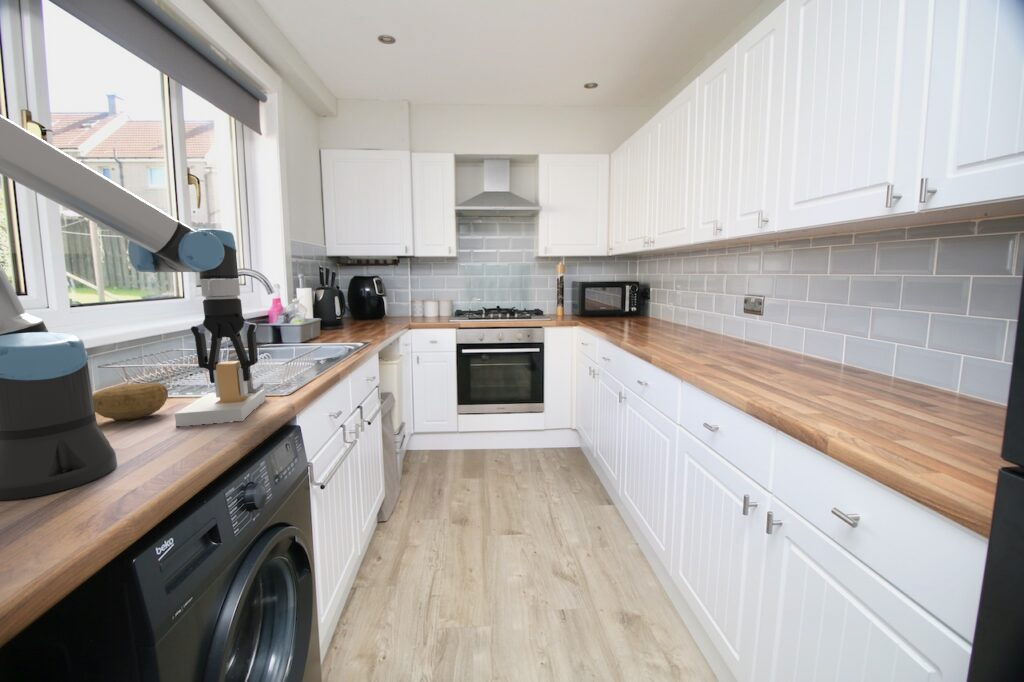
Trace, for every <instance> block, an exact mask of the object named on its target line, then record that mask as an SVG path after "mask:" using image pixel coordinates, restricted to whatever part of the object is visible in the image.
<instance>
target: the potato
mask: <svg viewBox="0 0 1024 682" xmlns="http://www.w3.org/2000/svg"><path fill="white" fill-rule="evenodd" d="M168 397H169V391H168V389H167V387H166V386H165V385H164V384H163V383H161V382H156V381H154V382H143V383H130V384H129V383H128V384H125V385H121V386H114V387H108V388H105V389H102V390H100V391H97V392H96V393H94V395H93V401H94V408H95V414H96V413H97V414H98V415H99V416H101V417H103V418H107V419H112V420H114V421H126V419H131V420H136V418H137V419H140V418H144V417H147V416H150V415H153V414H154V413H156V412H158V411H160V409H161V408H162V407H163V406H164V405H165V404H166V401H167V399H168Z"/></svg>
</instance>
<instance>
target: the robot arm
mask: <svg viewBox="0 0 1024 682" xmlns="http://www.w3.org/2000/svg"><path fill="white" fill-rule="evenodd" d="M0 175H2V176H4V177H6V178H7V179H10V180H11V181H13V182H16V183H17V184H19V185H22V186H24V187H26V188H27V189H29V190H31V191H33V192H35V193H37V194H38V195H41V196H43V197H45V198H47V199H48V200H50V201H53V202H55V203H56V204H58V205H60V206H62V207H64V208H66V209H68V210H70V211H72V212H73V213H76V214H78V215H80V216H82V217H83V218H86V219H87V220H89V221H91V222H92V223H95V224H97V225H99V226H101V227H103V228H104V229H106V230H109V231H111V232H113V233H114V234H116V235H118V236H120V237H122V238H124V239H126V240H128V247H127V248H128V249H127V252H128V258H129V261H130V263H131V266H132V268H133V269H135V271H137V272H141V273H142V272H143V273H153V274H157V273H198V272H199V279H200V287H201V288H200V289H201V296H202V297H203V298H205V299H204V300H203V301H202V306H203V312H204V313H203V314H204V320H203V322H202V323H200V324H197V325H193V326H192V325H191V327H190V330H191V332H192V334H193V336H194V340H195V341H194V342H195V349H196V357H197V363H198V367H199V368H200V369H207V370H208V375H209V383H211V384H214V387H215V389H214V390H215V393H216V397H220V395H219V387H218V378H217V370H216V365H217V364H219V359H220V352H221V346H222V345H221V344H222V340H223V338H228V339H229V341H230V342H232V345H233V348H234V350H235V353H236V356H237V358H238V359H237V360H238V361H240V364H241V368H239V369H238V374H239V383H240V393H241V396H244V395H246V394H247V393H248V388H247V381H249V380H250V378H251V374H250V373H251V366H254V365H256V364H257V363H258V361H259V358H258V357H259V356H258V345H257V333H256V332H257V330H258V326H259V325H258V323H255V322H254V323H252V322H248V321H246V320H245V317H244V316H243V306H242V300H241V299H240V298H239V296H240V295H241V289H240V288H241V287H240V279H239V270H238V269H239V268H238V257H237V251H238V250H237V247H236V241H235V237H234V234H233V232H231V231H230V230H226V229H219V228H217V229H215V228H213V229H211V228H202V229H201V228H200V229H193V228H192V227H190V226H188V225H187V224H185V223H183V222H181V221H180V220H178V219H176V218H174V217H173V216H171V215H170V214H168V213H166V212H164V211H163V210H161V209H160V208H157V207H156V206H155V205H152V204H150V202H147V201H146V200H144V199H143V198H141V197H139V196H137V195H135V194H134V193H132V192H131V191H129V190H127V189H126V188H124V187H122V185H119V184H117V183H116V182H114V181H112V180H111V179H109V178H108V177H106V176H105V175H103V174H101V173H99V172H98V171H95V170H93V169H92V168H91V167H89V166H87V165H85V164H84V163H82V162H81V161H79V160H77V159H75V158H74V157H72V156H71V155H69V154H67V153H65V152H64V151H62V150H60V149H59V148H56V147H55V146H54V145H52V144H50V143H48V142H47V141H46V140H44V139H41V137H38V136H37V135H35V134H34V133H31V132H30V131H29V130H27V129H25V128H23V127H21V126H20V125H18V124H17V123H15V122H14V121H11V120H10V119H8V118H7V117H5V116H3V115H1V114H0ZM243 328H244V329H245V332H246V340H247V350H248V354H247V351H246V348H245V346H244V343H243V340H242V335H241V333H240V332H241V331H242V329H243ZM206 330H207V331H208V332H209V333H211V338H210V343H211V344H210V348H209V354H208V349H207V341H206ZM208 355H209V356H208ZM88 360H89V355H88V351H87V349H86V348H85V344H84V341H83V340H82V338H80V337H79V336H77V335H74V334H71V333H67V332H66V333H65V332H52V331H51V332H50V331H49V329H47V326H46V325H45V323H44V320H43V319H42V318H39V317H36V316H35V315H34V316H33V315H31V314H29V313H28V312H26V311H25V308H24V306H23V305H22V302H21V300H20V299H19V296H18V295H17V292H16V291H15V289H14V287H13V285H12V283H11V281H10V279H9V277H8V275H7V273H6V271H5V269H4V266H3V265H2V263H1V262H0V501H12V500H13V499H14V500H22V498H23V499H29V498H28V497H30V498H34V497H35V496H36V497H40V496H46V495H50V494H54V493H58V492H62V491H66V490H70V489H72V488H75V487H79V486H82V485H84V484H88V483H90V482H93V481H94V480H97V479H100V478H103V477H104V476H106V475H107V474H109V473H110V472H113V470H115V468H117V466H118V461H117V455H116V451H115V449H114V448H113V447H112V445H111V443H110V441H109V440H108V439H107V438H106V435H105V434H104V433H103V431H102V430H101V428H100V427H99V424H98V421H97V416H96V412H95V408H94V401H93V396H94V395H93V389H92V384H91V383H92V382H91V375H90V369H89V365H88V364H89V362H88ZM36 497H35V498H36Z"/></svg>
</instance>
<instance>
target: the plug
mask: <svg viewBox="0 0 1024 682" xmlns="http://www.w3.org/2000/svg"><path fill="white" fill-rule="evenodd" d="M239 368H241V364H240V361H239V360H231V361H230V360H229V361H221V362H218V364H217V365H216V370H217V378H218V387H219V395H220V403H235V402H243V401H244V400H245V395H244V396H241V393H240V383H239V374H238V369H239Z"/></svg>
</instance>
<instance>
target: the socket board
mask: <svg viewBox="0 0 1024 682" xmlns="http://www.w3.org/2000/svg"><path fill="white" fill-rule="evenodd" d="M265 391H266V390H265V388H264V389H261V388H260V389H259V390H258V391H256V392H249V393H247V394H246V395H245V400H244V401H243V402H235V403H220V397H216V392H208V393H206V394H204V395H203V396H200V397H199V398H198V399H196V400H194V401H193V402H191V403H190V404H188V405H186V406H185V407H183V408H181V409H179V410H178V411H176V412H174V419H175V421H174V423H175V427H176V426H180V427H191V426H190V425H193V426H203V425H202V424H205V425H214V424H213V423H217V424H224V423H223V422H229V423H232V422H231V421H242V422H243V421H245V418H246V417H247V416H248V415H249V414H250V413H251V412H252V411H253V410H254V409H255V410H257V409H258V408H259V407H260V406H261V405H262V404H263V403H264V402H266V392H265ZM260 404H261V405H260ZM259 405H260V406H259ZM258 406H259V407H258ZM257 407H258V408H257ZM256 408H257V409H256ZM255 410H254V411H255ZM254 411H253V412H254ZM253 412H252V413H253ZM252 413H251V414H252ZM251 414H250V415H251ZM250 415H249V416H250ZM249 416H248V417H249ZM248 417H247V418H248ZM247 418H246V419H247Z"/></svg>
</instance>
